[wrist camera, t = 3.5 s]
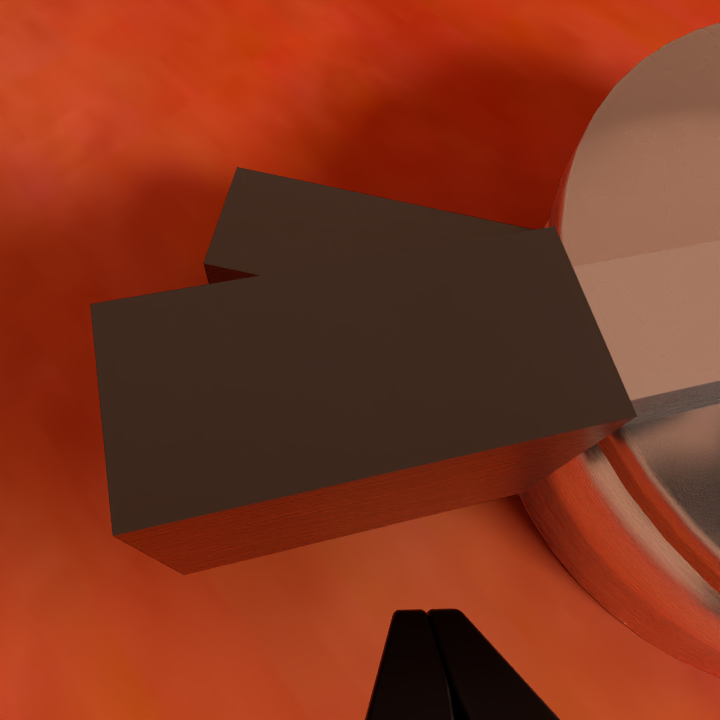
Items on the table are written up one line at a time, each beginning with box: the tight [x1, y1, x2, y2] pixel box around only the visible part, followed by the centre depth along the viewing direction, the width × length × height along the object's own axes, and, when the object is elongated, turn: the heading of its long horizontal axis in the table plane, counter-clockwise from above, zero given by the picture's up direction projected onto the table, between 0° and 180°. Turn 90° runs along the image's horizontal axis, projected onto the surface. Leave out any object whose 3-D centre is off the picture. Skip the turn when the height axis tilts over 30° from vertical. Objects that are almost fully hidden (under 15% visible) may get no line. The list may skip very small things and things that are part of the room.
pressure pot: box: [204, 167, 720, 678], centre depth 17 cm, size 26×16×6 cm, turn 79°
